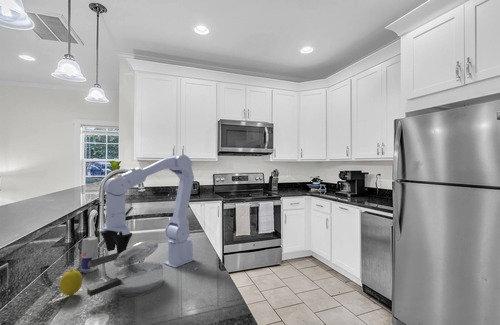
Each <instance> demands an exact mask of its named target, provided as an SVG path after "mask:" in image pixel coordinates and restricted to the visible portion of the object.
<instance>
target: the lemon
mask: <svg viewBox="0 0 500 325" xmlns="http://www.w3.org/2000/svg"><path fill="white" fill-rule="evenodd" d="M82 284H83V276H82V273H80V271H78V270H76V269H69V271H67V272H65V273H64V274H63V275H62V277H61V279H60V281H59V290H60V293H62V294H63V295H65V296H69V297H72V296H74V294H76V293H78V291H80V289H81V287H82V286H83V285H82Z"/></svg>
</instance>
